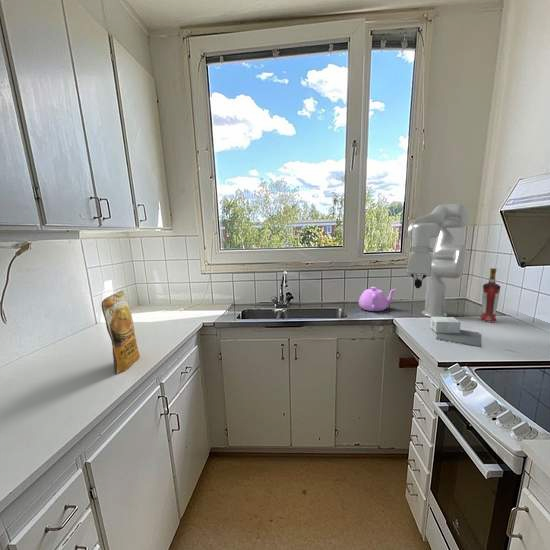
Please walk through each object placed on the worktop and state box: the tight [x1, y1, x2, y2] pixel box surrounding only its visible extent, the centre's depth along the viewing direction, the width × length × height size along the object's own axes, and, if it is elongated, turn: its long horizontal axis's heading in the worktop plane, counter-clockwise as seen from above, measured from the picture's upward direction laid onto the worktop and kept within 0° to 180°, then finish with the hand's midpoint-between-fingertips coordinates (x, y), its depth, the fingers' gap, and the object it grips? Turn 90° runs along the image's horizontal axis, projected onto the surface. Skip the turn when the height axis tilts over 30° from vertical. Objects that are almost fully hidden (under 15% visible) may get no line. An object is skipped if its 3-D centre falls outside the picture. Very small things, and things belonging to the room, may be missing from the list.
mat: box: [435, 329, 481, 348], centre depth 131 cm, size 18×16×1 cm
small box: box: [429, 316, 461, 334], centre depth 137 cm, size 8×6×10 cm
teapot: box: [358, 286, 397, 312], centre depth 177 cm, size 22×22×14 cm
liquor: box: [480, 267, 501, 323], centre depth 150 cm, size 7×7×28 cm
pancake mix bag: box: [101, 290, 141, 374], centre depth 109 cm, size 7×19×28 cm, turn 0°
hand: (417, 287), depth 139 cm, fingers closed
